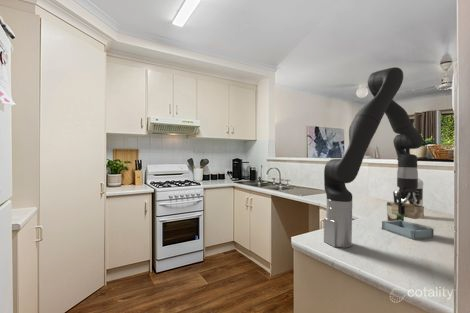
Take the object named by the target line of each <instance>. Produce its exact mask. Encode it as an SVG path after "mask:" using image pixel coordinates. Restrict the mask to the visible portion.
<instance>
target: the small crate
mask: <svg viewBox="0 0 470 313" xmlns="http://www.w3.org/2000/svg"><path fill="white" fill-rule="evenodd" d="M401 203H402V202H401ZM391 204H392V212H391V213H392V214H396V215H400V216H404V218H407V219H412V220H417V219H418V220H419V219H424V218H425V217H424V216H425V212H424V210H425V207H424V205H423V206H419V205H414V204H408V203H405V205H404V215H401V214H399V213H398V205H396V204H394V202H393V203H391Z"/></svg>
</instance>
